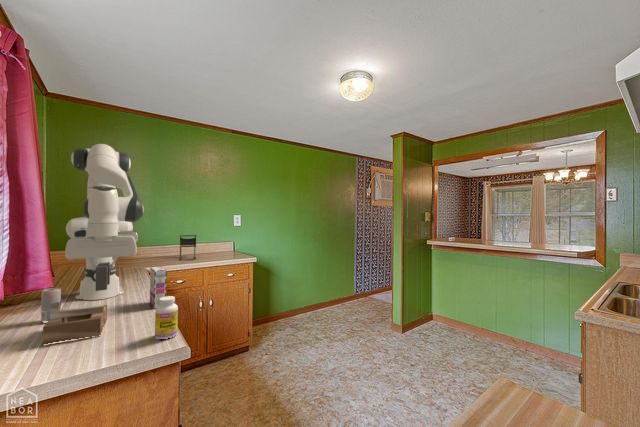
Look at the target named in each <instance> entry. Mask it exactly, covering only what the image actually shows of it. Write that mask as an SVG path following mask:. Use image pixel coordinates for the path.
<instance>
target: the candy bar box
mask: <svg viewBox="0 0 640 427" xmlns="http://www.w3.org/2000/svg"><path fill="white" fill-rule="evenodd" d="M149 269H150V270H149V271H150V272H149V274H150V278H149V304H150V305H151V307H152V308H153V309H154V308H157V307H158V306H159V305H160V303H159V299H160V298H162V297H166V296H167V277H168V276H167V272H168V270H167V269H166V268H164V267H163V266H154V267H150V268H149Z"/></svg>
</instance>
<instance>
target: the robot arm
mask: <svg viewBox="0 0 640 427" xmlns="http://www.w3.org/2000/svg"><path fill="white" fill-rule="evenodd" d="M70 161H71V163H72V165H73V168H75V169H76V170H77V171H82V172H87V174H88V176H87V177H88V179H87V190H86V191H87V192H86V197H87V198H86V200H84V201H83V216H82V217H75V218H72V219H70V220H68V222H67V224H66V225H65V233H66V234H67V236H68V237H69V239H68V240H67V242H66V245H65V250H64V257H65V258H66V259H67V260H83V259H85V263H86V265H85V266H86V268H84V278H83V279H81V281H80V288H79V294H78V295H76V296H75V298H76V299H75V298H74V299H75V300H82V299H83V300H82V301H96V300H97V301H98V300H105V299H109V298H114V297H117V296H121V295H123V294H125V292H124V290H123V288H122V287H121V283H120V277H119V276H117V275H116V273H117V266H116V265H115V264H116V262H117V261H118V257H120V258H121V257H132V256H133V257H134V256H136V255H137V253H138V248H137V242H138V241H139V234H138V233H137V232H135V231H134V226H133V223H136V222H137V221H139V220H140V219H141V218H142V217H143V216H144V209H145V208H144V205H143V202H142V200H141V198H140V197H139V195H138V192H137V190H136V188H135V185H134V182H133V180H132V178H131V176H130V174H129V173H128V172H129V171H130V169H131V167H132V166H131V165H132V161H131V158H130V157H129V155H128V154H127V153H125V152H122V151H116V150H115V149H114V148H113V147H112V146H110V145H108V144H106V143H97V144H94V145H93V146H91V147H90V148H86V147H78V148H75V149H74V150H73V152H72V153H71V155H70ZM117 189H120V190H121V191H122V194H123V196H119V194H118V190H117ZM104 262H110V264H109V265H108V270H110V284H109V285H107V290H100V291H96V267H97V266H98V264H99V263H104Z"/></svg>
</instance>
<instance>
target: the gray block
mask: <svg viewBox="0 0 640 427" xmlns="http://www.w3.org/2000/svg"><path fill="white" fill-rule="evenodd" d="M109 264H110V262H104V263H99V264H98V266H97V267H96V291H100V290H107V285H109V284H110V270H108V265H109Z"/></svg>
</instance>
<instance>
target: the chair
mask: <svg viewBox="0 0 640 427" xmlns="http://www.w3.org/2000/svg"><path fill="white" fill-rule="evenodd" d="M182 237H193V238H182ZM182 248H194V249H193V258H187V259H186V258H185V259H184V258H183V259H182ZM196 248H197V234H182V235H179V261H181V260H185V261H194V259H195V260H197V258H196Z"/></svg>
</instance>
